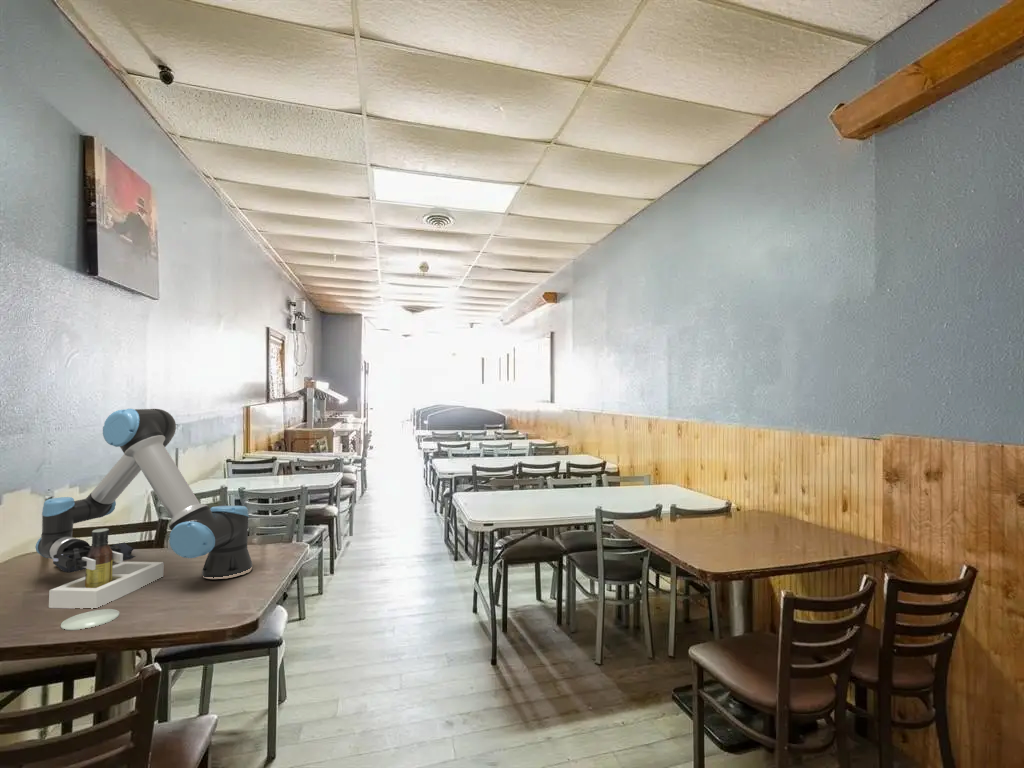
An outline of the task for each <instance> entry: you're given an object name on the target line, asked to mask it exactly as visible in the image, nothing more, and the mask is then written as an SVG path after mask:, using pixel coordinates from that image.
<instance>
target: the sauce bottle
mask: <svg viewBox="0 0 1024 768" xmlns="http://www.w3.org/2000/svg"><path fill="white" fill-rule="evenodd" d="M109 534H110V529H109V528H97V529H93V530H92V531H91V545H90V546H91V548H90V551H89V553H88V555H87V558H90V559H94V560H96V566H95V570H90V569H87V568H86V569H85V576H84V577H85V578H86V579H85V588H97V587H100V586H102V585H105V584H107V583H109V582H112V566H113V565H114V563H113V559H112V549H111V548H110V544H108V543H109Z"/></svg>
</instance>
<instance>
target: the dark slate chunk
mask: <svg viewBox="0 0 1024 768" xmlns="http://www.w3.org/2000/svg"><path fill="white" fill-rule="evenodd" d="M111 546H112V547H117V548H121V553H122V554H123V562H125V561H128V560H132V559H134V558H135V557H136V556H135V555H132V552H133V551H134V548H133V547H132V546H130V545H129V544H127V543H126V542H120V543H116V544H112V545H111ZM115 563H116V562H113V564H115ZM54 565H55V566H56V567H57V568H59V570H61V571H63V572H64V573H73V572H74V571H75V572H79V570H80V571H82V570H83V569H84V570H86V568H84V567H81V568H80V569H77V570H75V566H72V568H69V569H68V568H65V567H63V566H61V565H59V564H54Z"/></svg>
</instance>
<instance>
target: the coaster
mask: <svg viewBox="0 0 1024 768" xmlns="http://www.w3.org/2000/svg"><path fill="white" fill-rule="evenodd" d="M119 616H120V611H119V610H117V609H114V608H113V609H112V608H106V609H105V608H103V609H93V610H90V611H87V612H82V613H78V614H76V615H73V616H70V617H67V618H66V619H65V620H63V621H62V622H61V624H60V628H61V630H64V629H65V630H64V631H80V629H82V630H86V629H85V628H88V629H92V628H91V627H93V628H94V627H95V626H96V627H100V626H103V625H106V624H109V623H111V622H112V620H113V621H114V620H116V619H117V618H118V617H119ZM105 623H106V624H105ZM99 625H100V626H99ZM96 627H95V628H96Z"/></svg>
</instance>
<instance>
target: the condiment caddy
mask: <svg viewBox="0 0 1024 768" xmlns="http://www.w3.org/2000/svg"><path fill="white" fill-rule="evenodd" d="M164 565H165V561H164V562H163V561H123V563H116V564H113V565H112V582H109V583H107V584H105V585H102V586H100V587H97V588H85V579H86V578H85V576H83V577H81V578H78V579H75V580H72V581H70V582H67V583H64V584H62V585H60V586H57V587H54V588H51V589H49V594H48V595H49V597H48V609H75V608H80V609H82V610H84V609H83V608H91V609H90V610H94V609H93V608H97V609H99V608H101V607H103V606H105V605H107V603H108V604H110V603H112V602H114V601H116V600H118V599H121V598H122V597H125V596H127V595H129V594H131V593H133V592H135V591H137V590H139V589H141V587H142V588H143V586H144V587H145V585H146V586H148V585H150V584H152V583H154V582H156V581H158V580H157V579H159V578H161V577H163V578H164V570H165V569H164V567H165V566H164ZM161 579H162V578H161ZM155 580H156V581H155ZM159 580H160V579H159ZM153 581H154V582H153ZM151 582H152V583H151ZM149 583H150V584H149ZM147 584H148V585H147ZM111 601H112V602H111ZM109 602H110V603H109ZM102 605H103V606H102ZM100 606H101V607H100ZM98 607H99V608H98ZM80 609H79V610H80Z"/></svg>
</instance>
